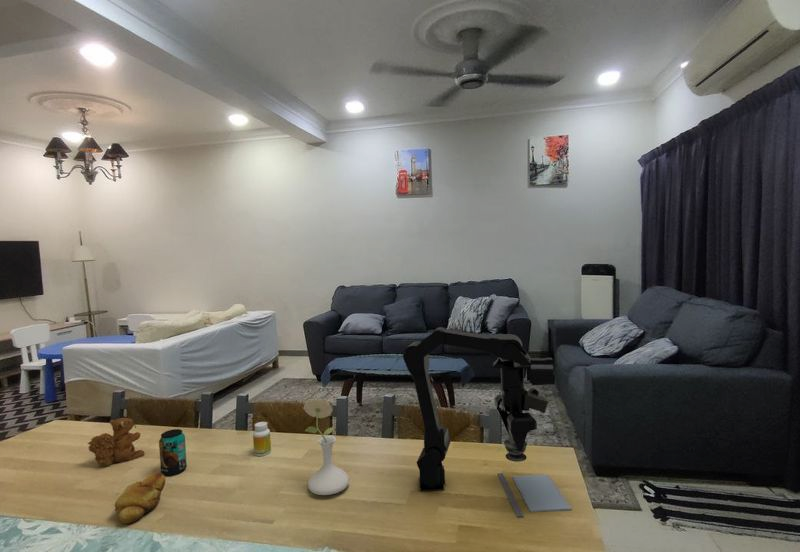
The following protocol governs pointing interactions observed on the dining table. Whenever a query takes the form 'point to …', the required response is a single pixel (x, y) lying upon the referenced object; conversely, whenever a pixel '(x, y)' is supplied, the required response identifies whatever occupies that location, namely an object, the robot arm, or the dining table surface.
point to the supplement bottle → (261, 439)
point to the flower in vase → (325, 454)
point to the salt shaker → (514, 450)
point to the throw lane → (535, 494)
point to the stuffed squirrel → (116, 444)
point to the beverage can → (172, 452)
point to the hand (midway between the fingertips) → (515, 443)
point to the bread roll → (140, 498)
